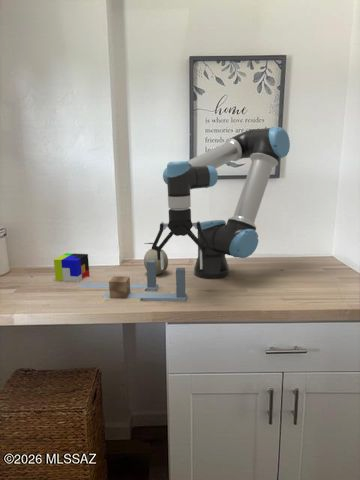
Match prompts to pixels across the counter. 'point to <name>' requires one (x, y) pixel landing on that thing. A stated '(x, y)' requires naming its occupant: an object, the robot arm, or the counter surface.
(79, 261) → the puzzle toy
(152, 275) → the lane
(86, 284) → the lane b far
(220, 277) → the robot arm
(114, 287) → the cube
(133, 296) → the strip
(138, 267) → the counter surface
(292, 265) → the counter surface
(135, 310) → the counter surface
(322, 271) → the counter surface
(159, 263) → the fruit
